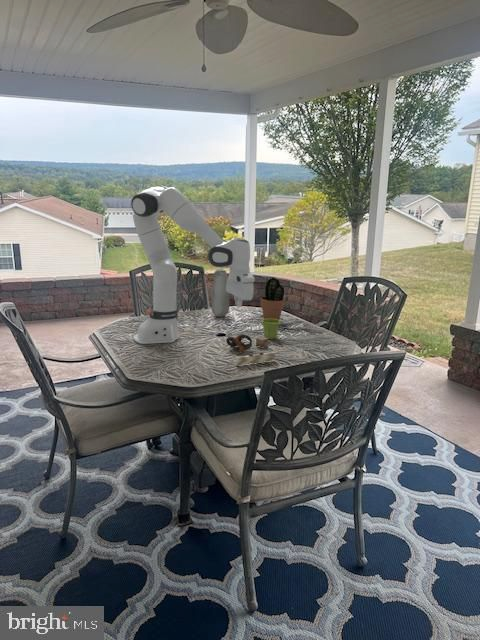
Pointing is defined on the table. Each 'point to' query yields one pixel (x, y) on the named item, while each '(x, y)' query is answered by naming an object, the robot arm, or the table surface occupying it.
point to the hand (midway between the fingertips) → (238, 306)
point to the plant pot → (270, 328)
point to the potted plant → (272, 300)
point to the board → (255, 358)
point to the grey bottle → (220, 294)
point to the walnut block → (262, 341)
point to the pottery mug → (239, 342)
